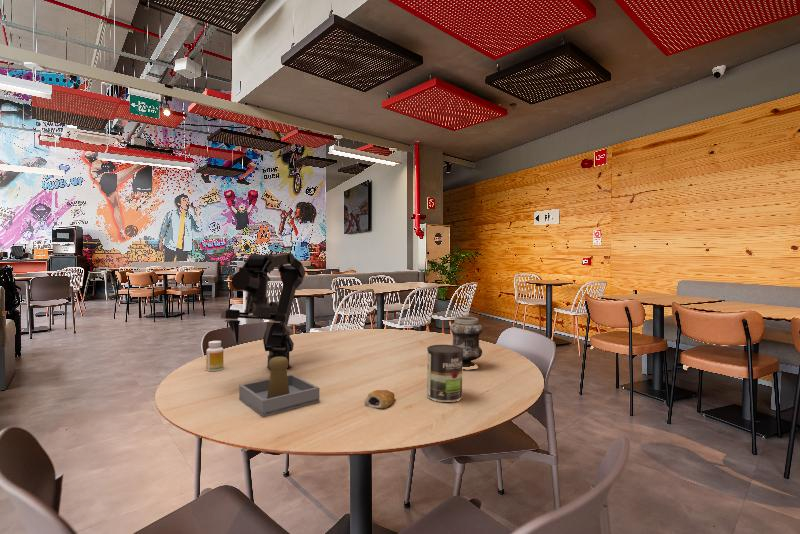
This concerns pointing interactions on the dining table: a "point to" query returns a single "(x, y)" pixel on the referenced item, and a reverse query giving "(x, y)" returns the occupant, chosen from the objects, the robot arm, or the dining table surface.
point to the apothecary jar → (467, 338)
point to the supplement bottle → (214, 356)
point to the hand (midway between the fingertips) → (251, 344)
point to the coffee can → (444, 373)
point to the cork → (278, 377)
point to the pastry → (379, 399)
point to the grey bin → (297, 397)
